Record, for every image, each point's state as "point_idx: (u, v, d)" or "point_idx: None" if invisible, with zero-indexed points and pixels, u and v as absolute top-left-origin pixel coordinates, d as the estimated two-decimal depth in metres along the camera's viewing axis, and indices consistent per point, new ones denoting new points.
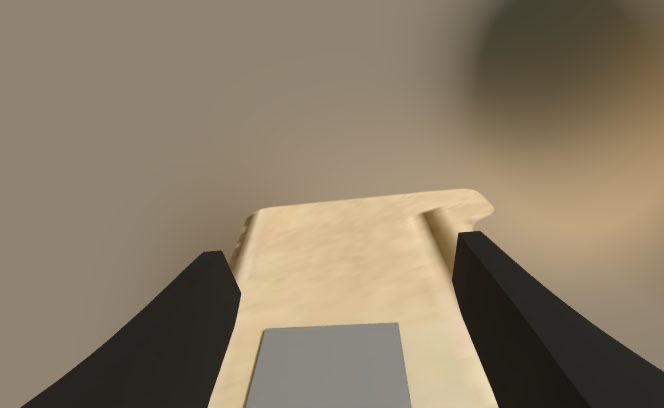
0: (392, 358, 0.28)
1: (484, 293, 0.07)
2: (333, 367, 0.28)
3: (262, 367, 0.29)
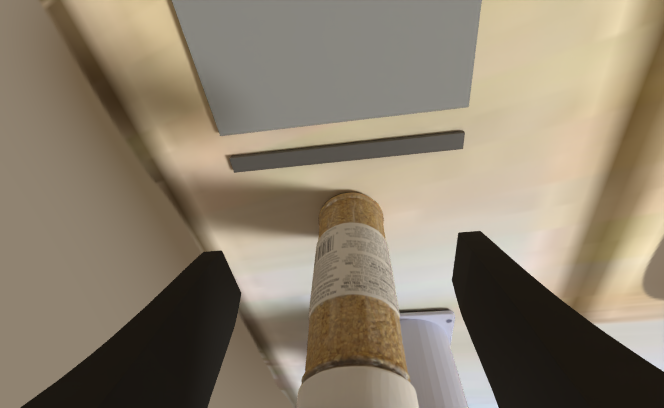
0: None
1: (485, 293, 0.07)
2: (335, 3, 0.14)
3: (192, 19, 0.14)
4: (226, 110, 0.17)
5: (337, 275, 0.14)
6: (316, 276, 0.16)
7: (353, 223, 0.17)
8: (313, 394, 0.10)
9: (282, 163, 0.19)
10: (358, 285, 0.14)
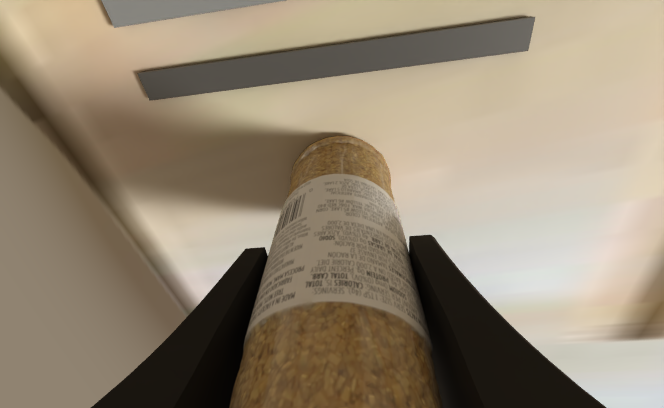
0: None
1: (426, 296, 0.07)
2: None
3: None
4: None
5: (302, 261, 0.07)
6: (267, 266, 0.08)
7: (340, 174, 0.10)
8: None
9: (225, 83, 0.11)
10: (343, 281, 0.06)
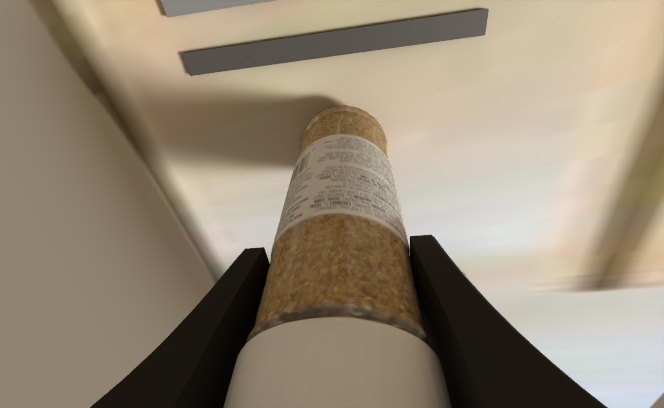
0: None
1: (426, 296, 0.07)
2: None
3: None
4: None
5: (307, 194, 0.09)
6: (283, 207, 0.11)
7: (337, 134, 0.12)
8: (241, 373, 0.06)
9: (251, 61, 0.15)
10: (336, 201, 0.09)
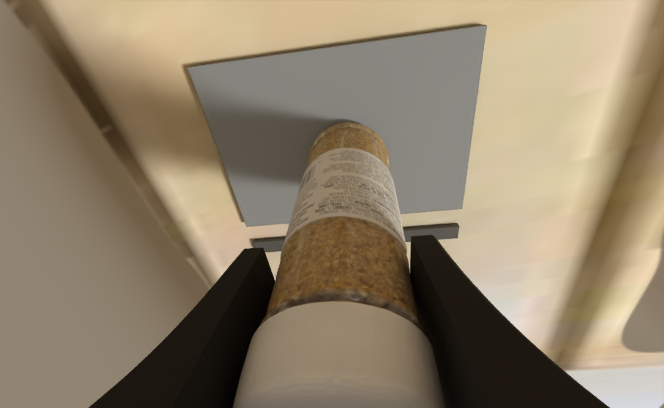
0: (454, 110, 0.16)
1: (427, 296, 0.07)
2: None
3: (228, 145, 0.17)
4: (252, 208, 0.20)
5: (313, 201, 0.10)
6: (292, 214, 0.12)
7: (340, 148, 0.13)
8: (254, 350, 0.06)
9: None
10: (338, 206, 0.10)
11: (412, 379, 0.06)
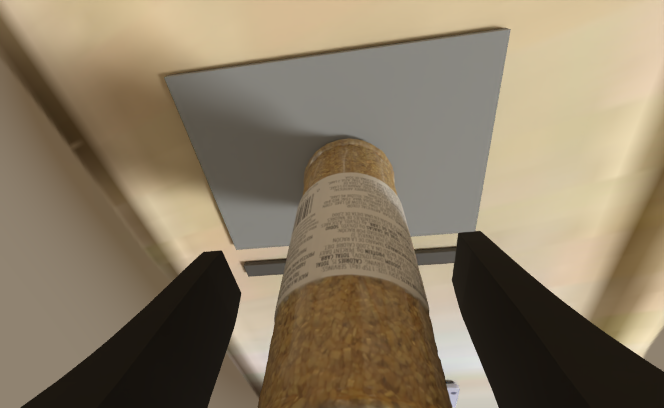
0: (470, 125, 0.14)
1: (484, 293, 0.07)
2: None
3: (213, 163, 0.15)
4: (242, 230, 0.18)
5: (313, 248, 0.08)
6: (287, 257, 0.10)
7: (342, 173, 0.11)
8: None
9: None
10: (345, 259, 0.08)
11: None
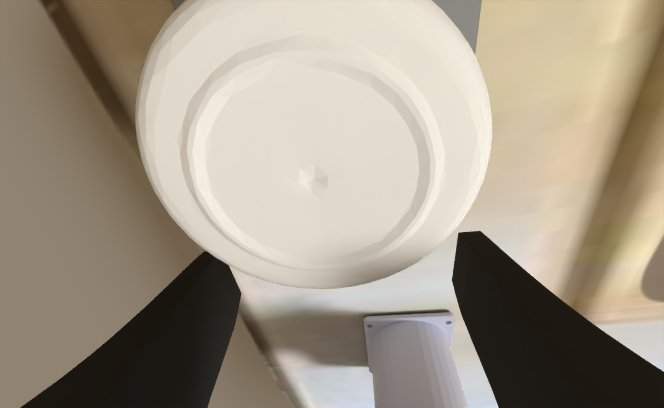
0: None
1: (484, 293, 0.07)
2: None
3: None
4: None
5: None
6: None
7: None
8: None
9: None
10: None
11: (437, 6, 0.03)
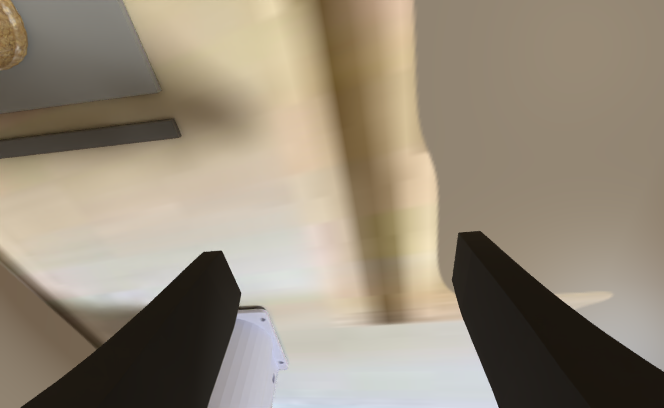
0: None
1: (485, 293, 0.07)
2: None
3: None
4: None
5: None
6: None
7: None
8: None
9: (5, 153, 0.18)
10: None
11: None
